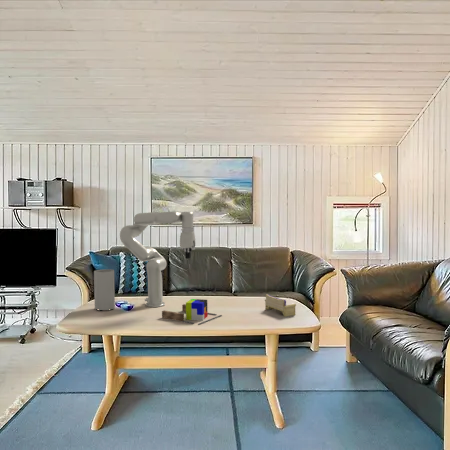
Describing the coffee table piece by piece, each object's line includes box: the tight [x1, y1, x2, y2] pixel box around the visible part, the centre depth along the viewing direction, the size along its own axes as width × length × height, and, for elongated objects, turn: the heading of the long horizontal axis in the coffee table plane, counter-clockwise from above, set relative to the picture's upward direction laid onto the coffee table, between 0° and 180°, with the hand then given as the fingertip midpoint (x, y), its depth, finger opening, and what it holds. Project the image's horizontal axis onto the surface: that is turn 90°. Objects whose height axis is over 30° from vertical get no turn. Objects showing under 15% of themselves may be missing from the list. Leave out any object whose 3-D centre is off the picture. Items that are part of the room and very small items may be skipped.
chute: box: [161, 303, 186, 322], centre depth 242 cm, size 15×21×4 cm
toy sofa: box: [264, 293, 297, 317], centre depth 248 cm, size 21×9×10 cm, turn 30°
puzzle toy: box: [185, 298, 209, 322], centre depth 236 cm, size 10×10×10 cm
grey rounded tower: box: [93, 268, 116, 311], centre depth 260 cm, size 12×12×25 cm
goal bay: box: [181, 312, 223, 326], centre depth 234 cm, size 12×23×1 cm, turn 147°
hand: (188, 258), depth 264 cm, fingers closed
